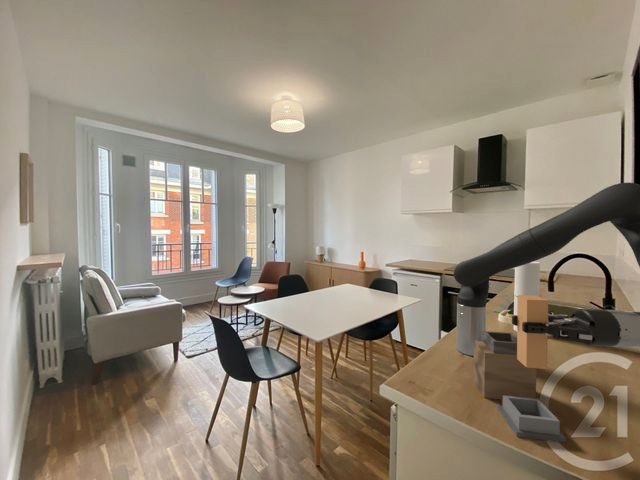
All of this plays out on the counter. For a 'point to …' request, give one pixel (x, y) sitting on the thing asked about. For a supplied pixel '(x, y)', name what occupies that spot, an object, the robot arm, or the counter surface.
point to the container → (526, 282)
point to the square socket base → (501, 368)
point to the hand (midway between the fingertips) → (518, 323)
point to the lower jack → (530, 419)
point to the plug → (532, 344)
